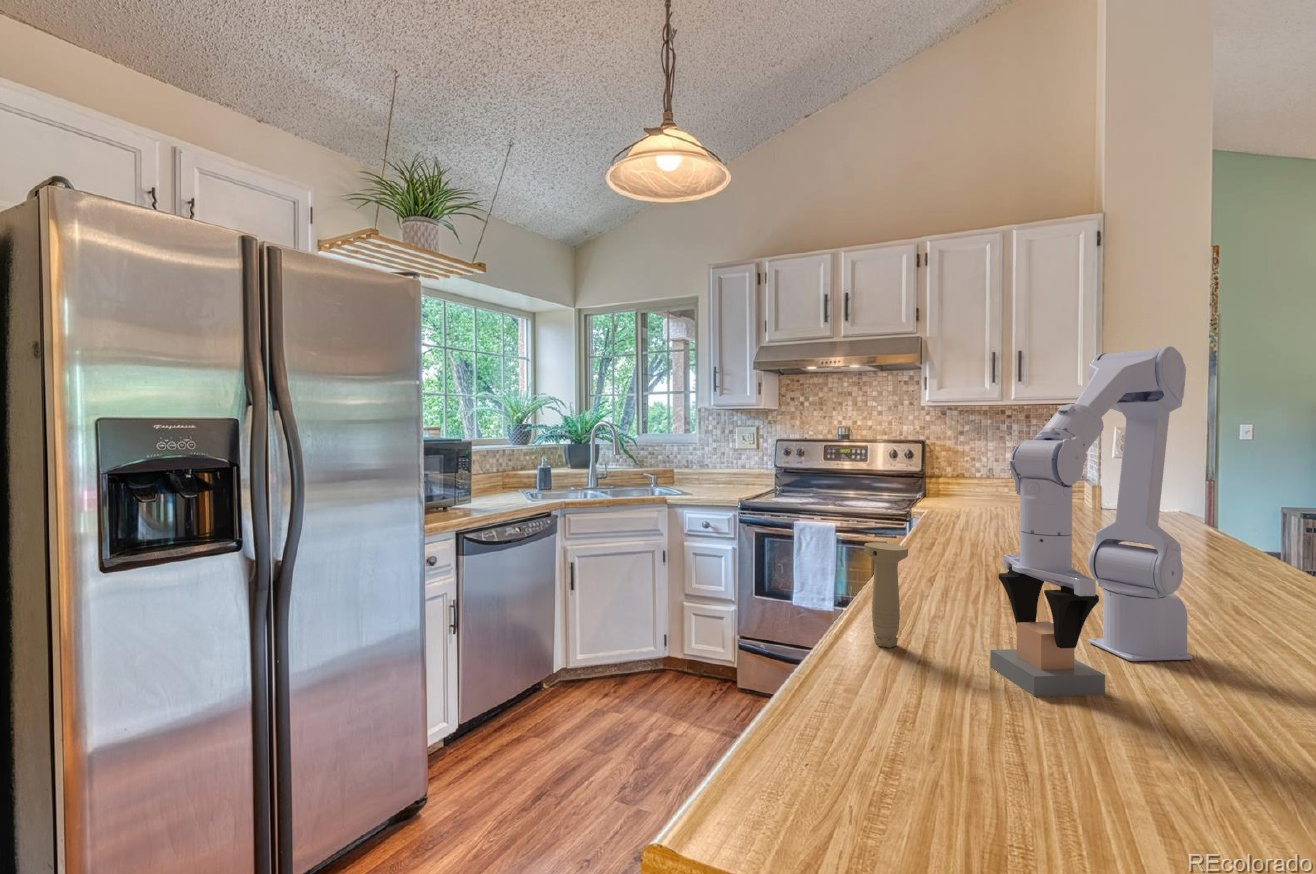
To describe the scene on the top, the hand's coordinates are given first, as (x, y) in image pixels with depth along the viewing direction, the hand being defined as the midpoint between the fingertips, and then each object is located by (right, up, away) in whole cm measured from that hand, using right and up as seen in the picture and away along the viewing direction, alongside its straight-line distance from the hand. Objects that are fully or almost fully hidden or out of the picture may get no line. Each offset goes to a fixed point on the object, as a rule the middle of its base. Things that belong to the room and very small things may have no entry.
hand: (1044, 636), depth 79 cm
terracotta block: (0, -3, 0) cm, 3 cm away
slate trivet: (0, -6, 0) cm, 6 cm away
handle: (-16, -6, +13) cm, 21 cm away
